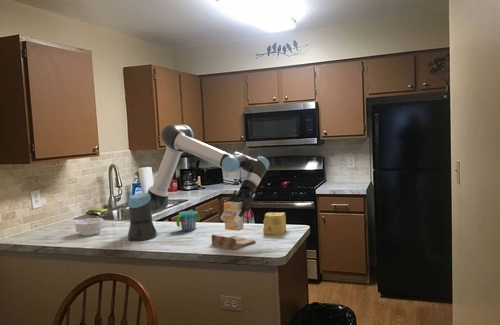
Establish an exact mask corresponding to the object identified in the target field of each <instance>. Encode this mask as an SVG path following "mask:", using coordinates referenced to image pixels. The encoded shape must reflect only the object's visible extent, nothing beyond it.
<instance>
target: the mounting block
mask: <svg viewBox="0 0 500 325" xmlns="http://www.w3.org/2000/svg"><path fill="white" fill-rule="evenodd" d="M253 244H256V240H255V239H252V238H251V239H250V238H245V237H240V236H235V235H231V236H223V235H218V234H215V233H214V234H213V233H212V234H211V245H214V246H215V247H221V248H226V249H230V250H233V251H235V250H238V249H241V248H244V247H248V246H250V245H253Z"/></svg>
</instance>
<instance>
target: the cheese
mask: <svg viewBox="0 0 500 325" xmlns="http://www.w3.org/2000/svg"><path fill="white" fill-rule="evenodd" d="M286 219H287V218H286V212H266V213H265V214H264V219H263V228H262V231H263V232H262V233H263V235H273V236H274V235H278V236H281V235H282V236H283V235H284V233H285V232H286V230H287V220H286Z"/></svg>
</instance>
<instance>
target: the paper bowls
mask: <svg viewBox="0 0 500 325" xmlns="http://www.w3.org/2000/svg"><path fill="white" fill-rule="evenodd" d="M74 224H75V232H77V233H79V234H80V236H84V237H88V236H89V237H90V236H95V235H98V234H100V232H101V231H102V229H104V227H105V225H104V219H103V218H100V217H94V218H83V219H81V220H77V221H75V223H74Z"/></svg>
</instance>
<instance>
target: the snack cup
mask: <svg viewBox="0 0 500 325" xmlns="http://www.w3.org/2000/svg"><path fill="white" fill-rule="evenodd" d="M200 219H201V218H200V214H199V213H198V211H197V210H185V211H184V210H183V211H180V212H178V215H177V218H176V223H175V224H176V226H177V227H181V230H182V231H184V232H190V231H191V232H192V231H194V229H195V230H196V226H197V222H198V223H199V222H200Z"/></svg>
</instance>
